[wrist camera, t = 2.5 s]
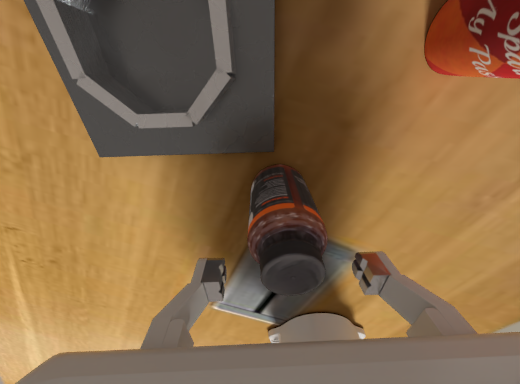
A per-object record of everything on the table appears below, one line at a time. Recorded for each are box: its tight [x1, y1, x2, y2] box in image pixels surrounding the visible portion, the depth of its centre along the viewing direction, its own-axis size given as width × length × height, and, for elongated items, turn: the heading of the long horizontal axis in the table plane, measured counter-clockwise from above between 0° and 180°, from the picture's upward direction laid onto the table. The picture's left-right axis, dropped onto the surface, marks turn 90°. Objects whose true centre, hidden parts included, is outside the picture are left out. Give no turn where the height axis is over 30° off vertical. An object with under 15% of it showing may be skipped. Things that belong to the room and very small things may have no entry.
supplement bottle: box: [248, 164, 328, 296], centre depth 16 cm, size 6×6×11 cm
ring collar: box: [24, 0, 275, 157], centre depth 13 cm, size 17×17×4 cm
